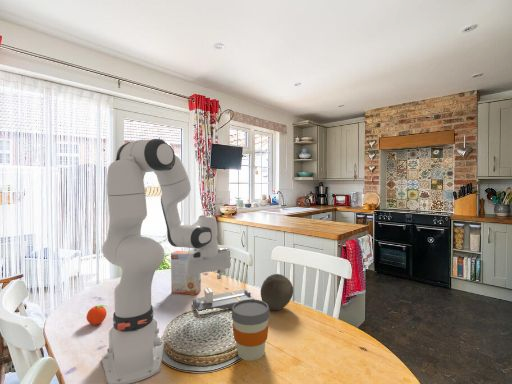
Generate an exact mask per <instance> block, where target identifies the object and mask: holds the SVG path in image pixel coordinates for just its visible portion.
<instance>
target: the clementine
mask: <svg viewBox="0 0 512 384" xmlns="http://www.w3.org/2000/svg"><path fill="white" fill-rule="evenodd" d="M105 307H106V305H103V304H99V305H95V306H92V307H91V308H90V309H89V310H88V312H87V313H86V321H87V322H88V323H89V324H90V325H92V326H93V325H94V326H95V325H100V324H101V323H103V322H104V320H105V319H106V317H107V315H108V314H107V313H108V312H107V310H106V308H105Z"/></svg>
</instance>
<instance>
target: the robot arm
mask: <svg viewBox="0 0 512 384" xmlns="http://www.w3.org/2000/svg"><path fill="white" fill-rule="evenodd" d="M115 157H116V158H115V160H114V161H113V162H111V163H110V164H109V166H108V168H107V174H106V192H107V193H106V194H107V203H108V214H109V215H108V216H109V223H108V230H107V236H106V237H107V238H106V240H105V241H104V243H103V244H102V249H101V251H102V255H103V257H104V258H105V259H106V261H108V263H111V265H114V266H117V267H120V268H121V277H120V280H119V283H118V284H117V285H116V286H115V288H114V291H113V292H114V293H113V294H114V312H113V318H112V321H113V323H112V326H113V327H111V328H110V329H109V330H108V348H107V350H106V352H105V353H103V355H102V356H101V362H102V366H103V371H104V375H105V379H106V383H107V384H133V383H136V382H139V381H142V380H146V379H148V378H150V377H152V376H153V375H155V374H157V373H158V372H160V370H161V368H162V367H161V366H162V363H163V362H162V360H163V356H164V355H163V354H164V349H165V341H164V340H163V339H161V338H160V337H159V333H160V328H158V320H157V319H155V318H154V307H153V305H152V283H153V279H154V275H155V272H156V271H157V270H158V268H160V266H162V263H163V262H164V259H165V251H164V248H163V246H162V244H161V243H160V242H158V241H156V240H155V239H153V238H151V237H146V236H142V234H141V231H142V225H143V222H144V220H145V219H147V216H148V211H147V210H148V209H147V199H146V189H145V180H144V178H145V175H146V174H147V173H149V172H150V173H151V172H153V173H154V174H155V175H156V178H157V181H158V184H159V187H160V190H161V195H160V205H161V210H162V213H163V217H164V221H165V225H166V236H167V241H168V243H169V244H170V245H171V246H172V247H175V248H176V247H177V248H187V249H188V248H189V249H190V250H188V255H189V257H188V258H187V261H186V273H187V274H188V275H192V274H194V275H195V277H196V278H197V283H201V284H202V278H201V279H200V278H198V277H197V276H198V273H200V274H202V273H203V274H204V273H210V272H215V271H219V273H218V274H216V279H217V280H222V275H223V273H224V270H225V269H227V270H228V269H230V268H231V265H232V264H231V257H230V256H231V250H230V249H229V248H227V247H225V248H219V242H218V234H219V233H218V222H217V219H216V217H215V216H213V215H203V214H202V215H199V216H198V219H197V220H196V221H195V222H194V223H193V224H185V223H183V222H182V221H181V218H180V214H179V209H178V204H179V203H181V202H182V201H184V200H186V199H187V197H188V196H189V195H190V193H191V186H192V185H191V182H190V178H189V176H188V174H187V173H188V172H187V171H186V168H185V166H184V164H183V162H182V160H181V158H180V155H178V154H177V153H175V150H174V148H173V147H172V145H171V144H170V143H169V142H168V141H166V140H165V139H162V138H161V139H160V138H151V139H137V140H134V141H129V142H126V143H124V144H122V145H121V146H119V148H118V150H117V152H116V156H115ZM163 341H164V342H163Z"/></svg>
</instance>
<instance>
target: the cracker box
mask: <svg viewBox="0 0 512 384" xmlns="http://www.w3.org/2000/svg"><path fill="white" fill-rule="evenodd" d="M188 251H189V250H188ZM188 251H186V250H175V251H172V252H171V253H170V273H171V274H170V278H171V279H170V280H171V281H170V285H171V293H172V294H181V295H194V296H195V295H197V294H199V293H200V292H201V289H202V287H201V286H202V285H201V284H202V282H201V283H197V278H196V277H195V275H194V274H192V275H188V274H187V273H186V261H187V258H188V257H189V255H188ZM197 277H198V278H200V279H201V280H202V278H201V273H198V276H197Z"/></svg>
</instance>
